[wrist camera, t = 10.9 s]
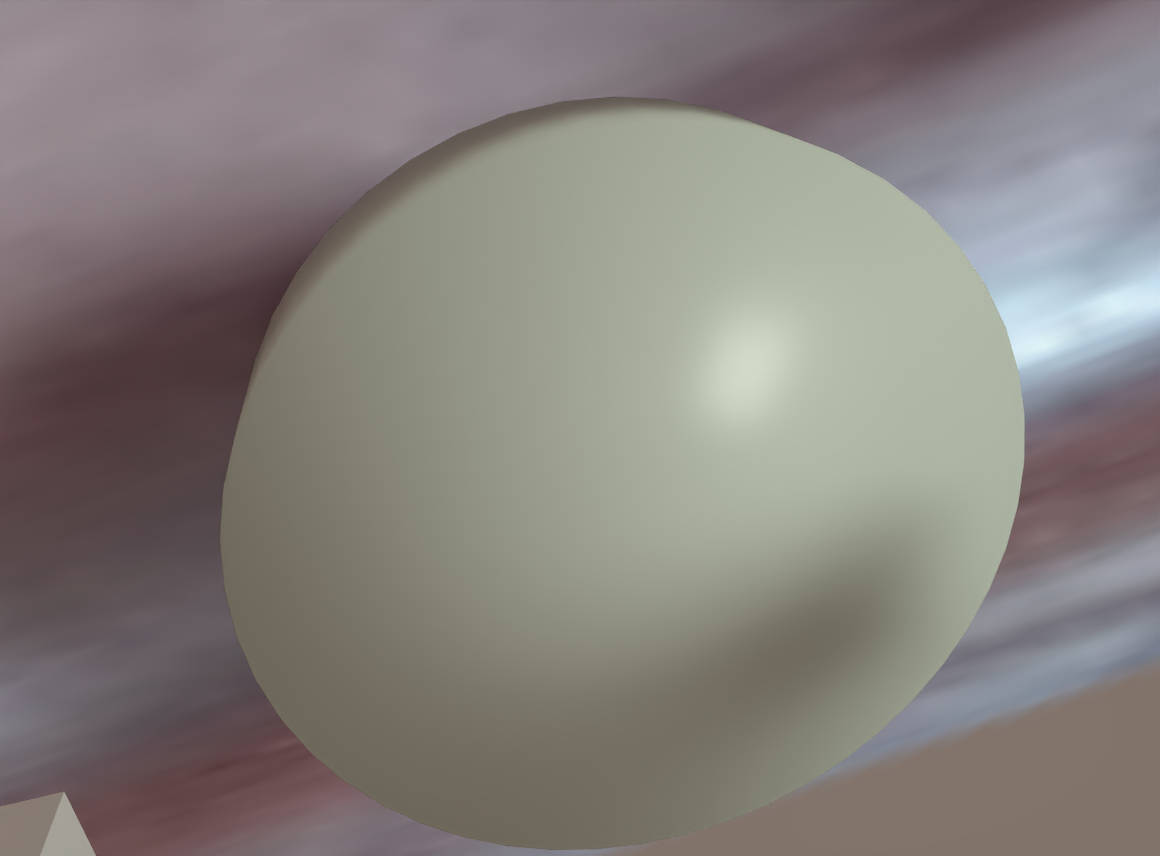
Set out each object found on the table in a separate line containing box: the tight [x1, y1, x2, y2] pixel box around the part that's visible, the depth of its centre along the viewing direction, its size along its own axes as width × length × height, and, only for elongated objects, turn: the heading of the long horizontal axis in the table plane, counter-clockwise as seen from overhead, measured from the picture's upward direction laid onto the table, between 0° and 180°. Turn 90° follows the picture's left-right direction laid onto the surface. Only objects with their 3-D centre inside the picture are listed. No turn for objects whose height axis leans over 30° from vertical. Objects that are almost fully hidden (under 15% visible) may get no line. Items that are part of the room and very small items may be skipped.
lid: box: [220, 97, 1025, 850], centre depth 15 cm, size 11×11×2 cm
